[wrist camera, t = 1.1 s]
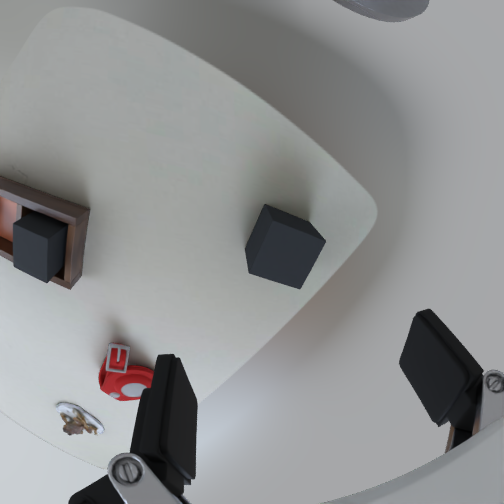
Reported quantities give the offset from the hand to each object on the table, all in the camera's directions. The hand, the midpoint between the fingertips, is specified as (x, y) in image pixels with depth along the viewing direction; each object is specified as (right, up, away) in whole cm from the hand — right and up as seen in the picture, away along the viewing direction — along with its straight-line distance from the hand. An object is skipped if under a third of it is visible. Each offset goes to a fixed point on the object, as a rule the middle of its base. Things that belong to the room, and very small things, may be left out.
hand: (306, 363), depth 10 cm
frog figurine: (-38, -31, +31) cm, 58 cm away
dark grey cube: (-24, +6, +14) cm, 29 cm away
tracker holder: (-19, -12, +24) cm, 33 cm away
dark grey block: (0, +6, +18) cm, 19 cm away
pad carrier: (-27, +8, +14) cm, 32 cm away
